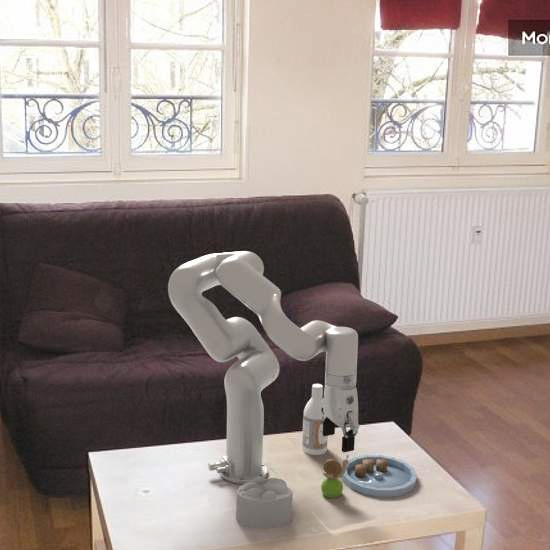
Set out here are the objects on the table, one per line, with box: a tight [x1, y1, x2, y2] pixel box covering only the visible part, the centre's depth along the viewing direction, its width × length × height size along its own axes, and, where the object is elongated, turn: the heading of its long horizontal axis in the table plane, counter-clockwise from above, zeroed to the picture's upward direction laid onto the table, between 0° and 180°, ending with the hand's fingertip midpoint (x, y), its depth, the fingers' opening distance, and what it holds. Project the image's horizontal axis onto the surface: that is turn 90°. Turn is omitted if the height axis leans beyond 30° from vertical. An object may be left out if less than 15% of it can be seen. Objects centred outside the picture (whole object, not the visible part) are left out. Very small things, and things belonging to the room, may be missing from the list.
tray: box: [341, 454, 418, 498], centre depth 230 cm, size 19×19×3 cm
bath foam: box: [301, 383, 328, 456], centre depth 243 cm, size 7×7×20 cm
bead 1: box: [355, 464, 367, 478], centre depth 231 cm, size 3×3×2 cm
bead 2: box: [363, 459, 374, 473], centre depth 234 cm, size 3×3×2 cm
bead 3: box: [376, 459, 388, 473], centre depth 234 cm, size 3×3×2 cm
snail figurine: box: [320, 454, 349, 499], centre depth 220 cm, size 5×6×12 cm
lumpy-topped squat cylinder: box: [235, 476, 294, 529], centre depth 211 cm, size 10×13×9 cm
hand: (338, 442), depth 218 cm, fingers open, 9 cm apart
